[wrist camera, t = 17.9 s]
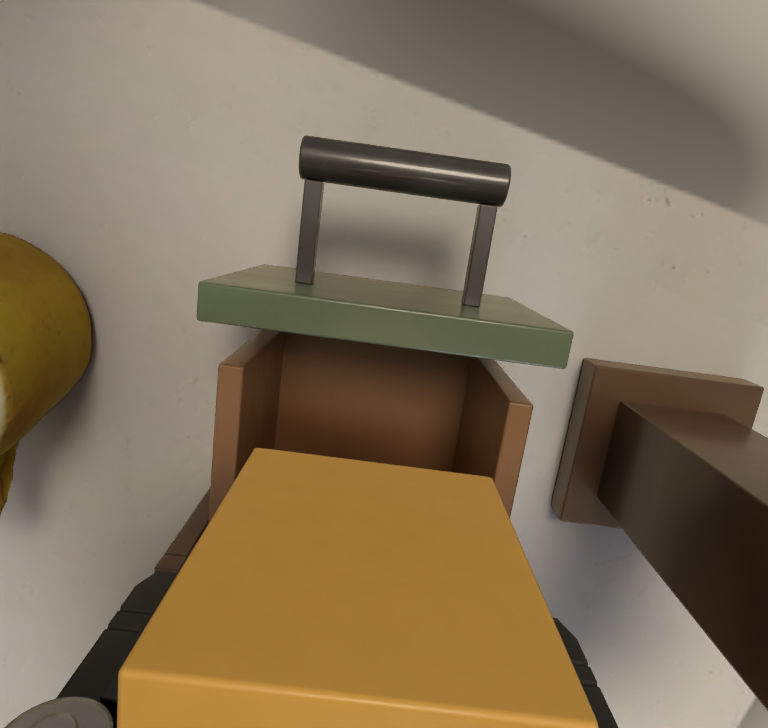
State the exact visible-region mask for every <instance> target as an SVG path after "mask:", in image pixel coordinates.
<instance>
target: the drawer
mask: <svg viewBox="0 0 768 728" xmlns="http://www.w3.org/2000/svg"><path fill="white" fill-rule="evenodd" d="M299 174H300V178H301V179H304V180H305V184H304V194H303V205H302V215H301V225H300V236H299V246H298V257H297V267H296V269H294V268H287V267H279V266H272V265H265V264H264V265H260V266H256V267H253V268H249V269H245V270H242V271H238V272H234V273H231V274H227V275H223V276H219V277H216V278H212V279H208V280H205V281H201V282H199V285H198V303H197V320H199V321H205V322H212V323H220V324H228V325H235V326H243V327H250V328H258V329H263V330H262V331H260V332H259V333H258V334H257V335H255V336H254V337H253V338H252V339H250V340H249V341H248V342H247V343H245V344H244V345H243V346H242V347H240V348H239V349H238V350H237V351H235V352H234V353H233V354H232V355H230V356H229V357H228V358H227V359H225V360H224V361H223V362H222V363H220V364H219V367H218V383H217V398H216V413H215V428H214V444H213V459H212V474H211V489H210V505H209V520H208V524H209V522H210V521H211V519H212V517H213V516H214V514H215V512H216V511H217V509H218V508H219V506H220V504H221V503H222V501H223V499H224V498H225V496H226V494H227V493H228V491H229V489H230V488H231V486H232V485H233V483H234V481H235V480H236V478H237V476H238V475H239V473H240V471H241V470H242V468H243V466H244V465H245V463H246V462H247V460H248V458H249V457H250V455H251V453H252V452H253V450H254V448H265V449H272V450H280V451H288V452H296V453H304V454H312V455H320V456H328V457H336V458H344V459H352V460H359V461H367V462H375V463H383V464H391V465H399V466H407V467H415V468H423V469H431V470H439V471H446V472H454V473H462V474H470V475H478V476H486V477H490V478H492V479H493V482H494V484H495V486H496V489H497V491H498V493H499V495H500V498H501V500H502V502H503V505H504V507H505V509H506V512H507V514H508V516H509V519H510V515H511V511H512V506H513V501H514V496H515V491H516V487H517V482H518V477H519V472H520V467H521V463H522V458H523V453H524V448H525V443H526V438H527V434H528V429H529V424H530V419H531V414H532V410H533V405H532V404H531V402H530V401H529V400H528V399H527V398H526V397H525V395H524V394H523V393H522V392H521V391H520V389H519V388H518V387H517V386H516V385H515V384H514V382H513V381H512V380H511V379H510V378H509V377H508V375H507V374H506V373H505V372H504V371H503V369H502V368H501V367H500V366H499V365H498V364H497V362H496V361H495V360H500V361H507V362H515V363H522V364H530V365H537V366H545V367H552V368H560V369H564V368H566V366H567V362H568V357H569V353H570V348H571V343H572V339H573V332H572V331H570V330H568V329H567V328H565V327H563V326H561V325H559V324H557V323H555V322H553V321H552V320H550V319H548V318H546V317H544V316H542V315H540V314H538V313H537V312H535V311H533V310H531V309H529V308H527V307H525V306H524V305H522V304H520V303H518V302H516V301H514V300H512V299H510V298H508V297H500V296H493V295H485V294H482V292H483V286H484V280H485V275H486V269H487V263H488V258H489V252H490V246H491V241H492V235H493V229H494V224H495V218H496V212H497V207H501V206H503V204H504V202H505V200H506V197H507V194H508V190H509V185H510V179H511V168H510V166H509V165H508V164H502V163H495V162H488V161H481V160H474V159H467V158H460V157H453V156H446V155H439V154H432V153H425V152H418V151H411V150H404V149H397V148H390V147H383V146H376V145H369V144H362V143H355V142H348V141H341V140H334V139H327V138H320V137H313V136H304V137H303V139H302V142H301V147H300V154H299ZM323 182H326V183H333V184H340V185H347V186H354V187H361V188H368V189H375V190H383V191H390V192H397V193H404V194H411V195H418V196H425V197H432V198H439V199H446V200H454V201H461V202H468V203H475V204H480V205H478V207H477V213H476V219H475V225H474V231H473V237H472V243H471V249H470V255H469V261H468V266H467V272H466V278H465V284H464V290H463V291H456V290H449V289H441V288H434V287H427V286H419V285H412V284H404V283H397V282H390V281H382V280H375V279H368V278H360V277H353V276H346V275H338V274H331V273H323V272H316V271H315V267H316V257H317V247H318V238H319V228H320V219H321V209H322V199H323V190H324V183H323Z"/></svg>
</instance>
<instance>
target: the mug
mask: <svg viewBox="0 0 768 728" xmlns="http://www.w3.org/2000/svg"><path fill="white" fill-rule="evenodd" d="M91 349H92V340H91V322H90V316H89V312H88V310H87V307H86V304H85V301H84V299H83V297H82V295H81V293H80V291H79V289H78V287H77V286H76V284H75V283H74V281H73V280H72V278H71V277H70V275H69V274H68V273H67V272H66V271H65V269H64V268H63V267H62V266H61V265H60V264H58V263H57V262H56V261H55V260H54V259H52V258H51V257H50V256H49V255H48V254H46V253H45V252H43V251H42V250H40V249H39V248H37V247H35V246H33V245H32V244H30V243H28V242H26V241H24V240H22V239H19V238H17V237H15V236H12V235H10V234H6V233H0V515H1V512H2V509H3V507H4V505H5V503H6V501H7V496H8V492H9V488H10V484H11V481H12V478H13V464H14V460H15V456H16V448H17V446H18V444H19V441H20V439H21V438H23V437H24V436H25V435H26V434H27V433H28V432H29V431H30V430H31V429H32V428H33V427H34V426H35V425H36V423H37V422H38V421H39V420H40V419H41V418H42V417H43V416H44V415H45V414H46V413H47V412H48V411H49V410H50V409H51V408H52V407H53V406H54V405H55V404H57V403H58V402H59V401H60V400H61V399H62V398H63V397H64V396H65V395H66V394H67V393H68V392H69V391H70V390H71V389H72V387H73V386H74V385H75V384H76V382H77V381H78V380H79V379H80V377H81V376H82V375H83V373H84V371H85V369H86V367H87V365H88V362H89V359H90V355H91Z"/></svg>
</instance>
